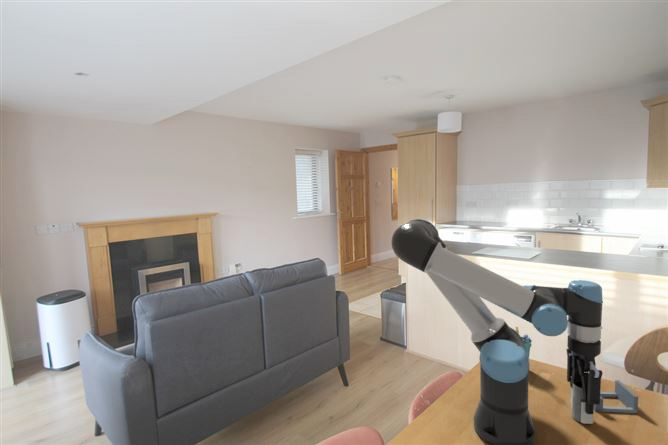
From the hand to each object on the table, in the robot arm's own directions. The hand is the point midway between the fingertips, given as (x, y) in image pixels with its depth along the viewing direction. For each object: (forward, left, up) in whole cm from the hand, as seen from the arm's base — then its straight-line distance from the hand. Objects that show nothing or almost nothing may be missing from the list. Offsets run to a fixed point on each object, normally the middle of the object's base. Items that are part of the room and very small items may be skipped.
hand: (581, 416), depth 100 cm
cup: (-7, +26, -1) cm, 27 cm away
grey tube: (0, 0, -1) cm, 1 cm away
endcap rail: (+11, +8, -1) cm, 14 cm away
